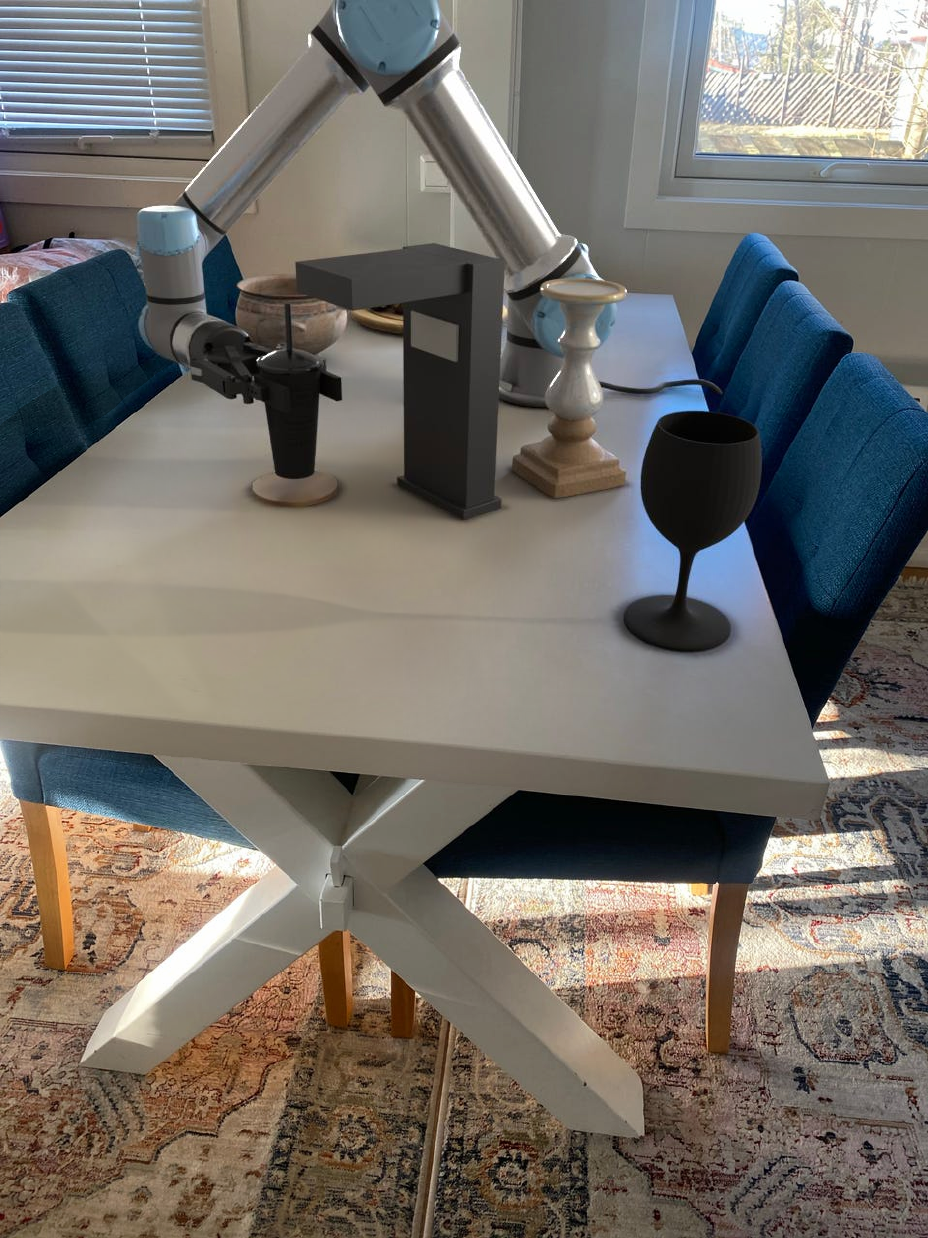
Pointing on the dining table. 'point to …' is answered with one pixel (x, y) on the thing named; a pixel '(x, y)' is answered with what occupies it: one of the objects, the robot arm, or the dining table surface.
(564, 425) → the candle holder
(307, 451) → the drinking cup
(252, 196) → the robot arm
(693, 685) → the dining table surface
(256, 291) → the cooking pot
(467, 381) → the coffee maker
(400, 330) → the wooden plate
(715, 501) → the wine glass
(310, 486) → the coaster
